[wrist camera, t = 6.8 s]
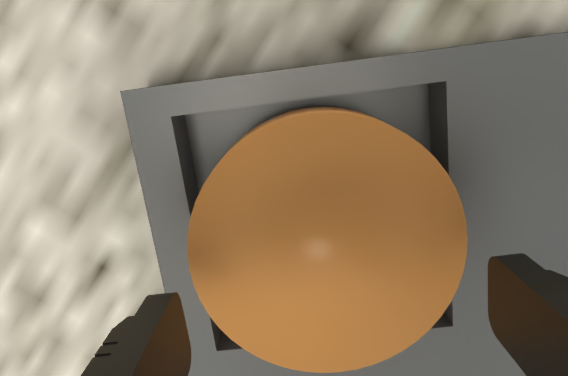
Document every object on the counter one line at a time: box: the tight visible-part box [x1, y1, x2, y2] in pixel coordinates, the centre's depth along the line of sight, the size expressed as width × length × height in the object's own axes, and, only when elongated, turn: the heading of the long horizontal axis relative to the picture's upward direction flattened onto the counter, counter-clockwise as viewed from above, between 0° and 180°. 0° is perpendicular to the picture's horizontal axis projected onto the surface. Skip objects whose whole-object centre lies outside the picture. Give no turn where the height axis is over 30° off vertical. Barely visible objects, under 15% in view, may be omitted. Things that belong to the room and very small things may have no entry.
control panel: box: [120, 32, 568, 376], centre depth 18 cm, size 28×20×4 cm
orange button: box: [187, 107, 468, 373], centre depth 15 cm, size 9×9×2 cm
